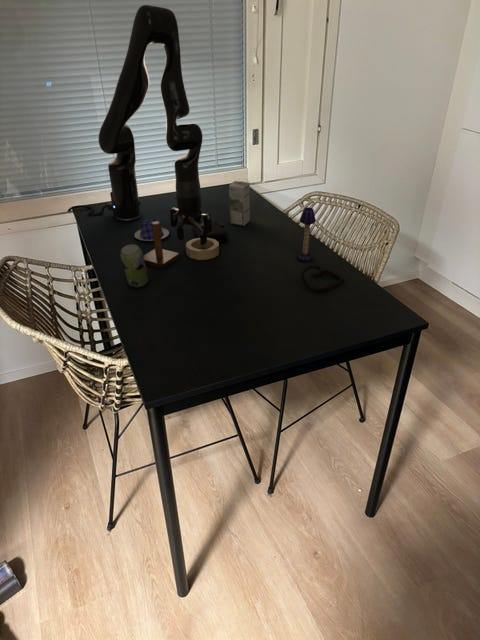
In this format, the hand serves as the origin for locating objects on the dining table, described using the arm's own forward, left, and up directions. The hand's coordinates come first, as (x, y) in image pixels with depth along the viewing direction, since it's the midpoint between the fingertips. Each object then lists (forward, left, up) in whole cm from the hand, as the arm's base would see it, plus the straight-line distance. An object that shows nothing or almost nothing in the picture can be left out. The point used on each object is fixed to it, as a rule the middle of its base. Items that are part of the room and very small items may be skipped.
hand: (192, 241), depth 161 cm
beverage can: (-1, -27, -3) cm, 27 cm away
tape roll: (+4, 0, -3) cm, 5 cm away
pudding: (-19, +3, -3) cm, 19 cm away
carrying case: (-1, +13, -3) cm, 13 cm away
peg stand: (-5, -11, -3) cm, 12 cm away
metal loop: (+45, -1, -3) cm, 45 cm away
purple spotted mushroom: (+35, +11, -3) cm, 37 cm away
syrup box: (+2, +28, -3) cm, 28 cm away
